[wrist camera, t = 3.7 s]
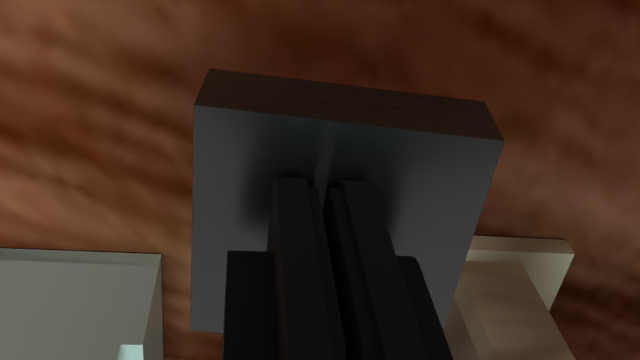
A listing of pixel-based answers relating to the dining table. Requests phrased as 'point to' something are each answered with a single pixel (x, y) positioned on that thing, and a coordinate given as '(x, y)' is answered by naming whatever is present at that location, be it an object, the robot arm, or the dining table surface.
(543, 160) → the dining table surface
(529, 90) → the dining table surface
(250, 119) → the track
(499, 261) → the stand
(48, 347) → the mint green storage bin
